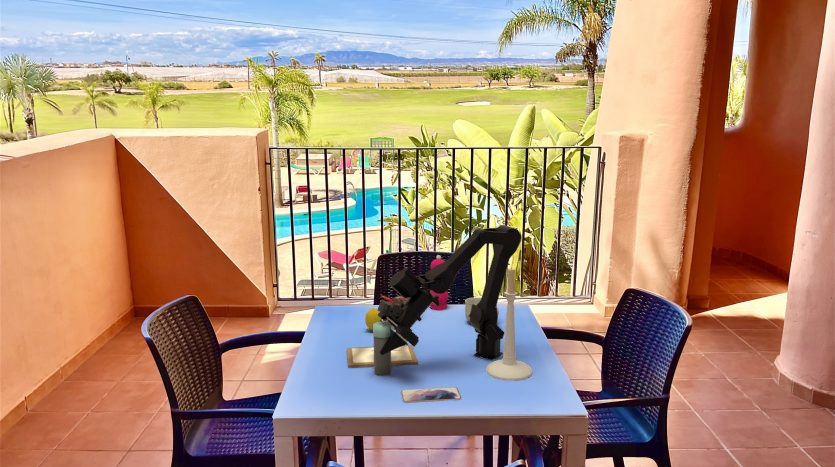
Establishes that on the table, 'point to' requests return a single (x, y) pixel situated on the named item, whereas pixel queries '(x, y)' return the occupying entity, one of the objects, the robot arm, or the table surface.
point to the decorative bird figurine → (396, 299)
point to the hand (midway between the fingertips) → (377, 350)
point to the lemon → (372, 317)
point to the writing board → (366, 356)
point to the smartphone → (430, 395)
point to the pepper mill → (442, 297)
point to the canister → (380, 338)
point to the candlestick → (509, 343)
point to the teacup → (469, 304)
